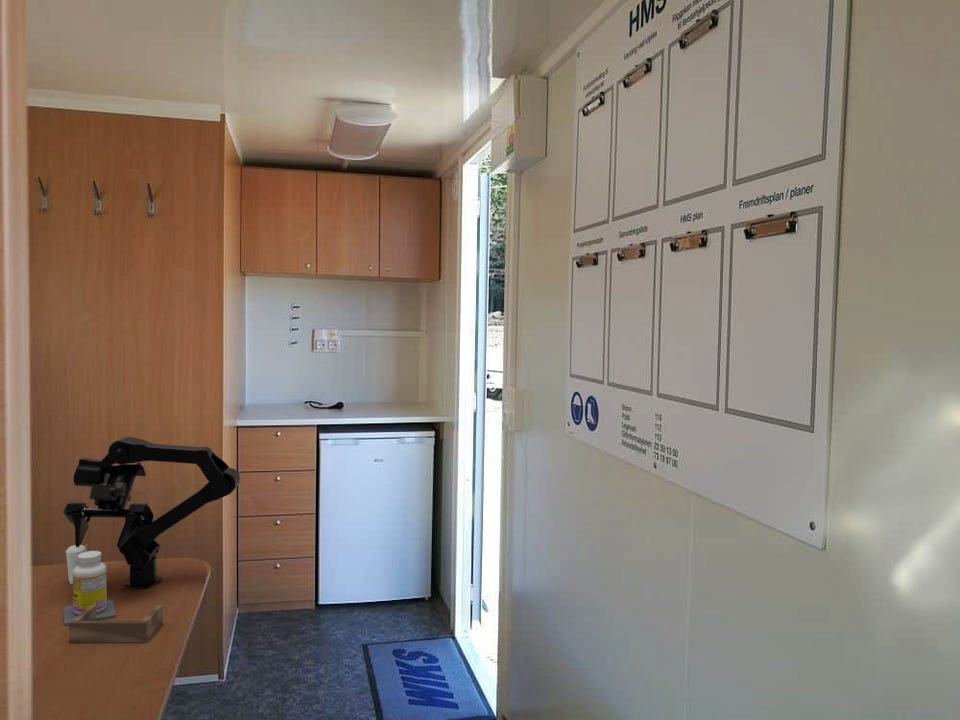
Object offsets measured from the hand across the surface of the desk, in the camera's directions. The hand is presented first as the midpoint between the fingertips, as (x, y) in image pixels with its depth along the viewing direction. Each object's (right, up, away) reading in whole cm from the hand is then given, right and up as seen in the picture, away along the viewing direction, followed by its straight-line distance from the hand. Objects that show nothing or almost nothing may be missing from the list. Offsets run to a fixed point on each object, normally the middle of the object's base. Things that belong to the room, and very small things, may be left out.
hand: (97, 546), depth 167 cm
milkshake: (-12, -13, +14) cm, 23 cm away
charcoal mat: (0, -14, -4) cm, 14 cm away
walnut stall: (+11, -15, -13) cm, 23 cm away
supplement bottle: (0, -13, -3) cm, 14 cm away
